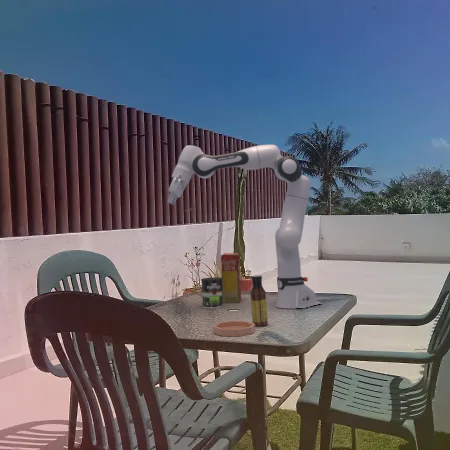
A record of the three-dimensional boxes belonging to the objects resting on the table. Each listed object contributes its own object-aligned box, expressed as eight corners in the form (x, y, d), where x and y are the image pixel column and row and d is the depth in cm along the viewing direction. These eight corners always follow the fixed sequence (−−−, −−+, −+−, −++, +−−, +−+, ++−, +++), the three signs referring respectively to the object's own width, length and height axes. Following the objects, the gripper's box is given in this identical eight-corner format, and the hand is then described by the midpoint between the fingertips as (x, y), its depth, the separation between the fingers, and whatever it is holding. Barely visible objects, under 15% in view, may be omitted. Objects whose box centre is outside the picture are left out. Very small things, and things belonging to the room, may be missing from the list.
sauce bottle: (267, 323, 198) (265, 274, 198) (268, 326, 191) (267, 276, 191) (251, 323, 197) (249, 275, 197) (252, 327, 191) (250, 276, 191)
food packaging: (239, 303, 249) (237, 254, 249) (221, 303, 250) (219, 255, 250) (241, 298, 262) (240, 252, 262) (224, 299, 263) (222, 253, 263)
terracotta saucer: (241, 325, 194) (241, 319, 194) (261, 332, 181) (261, 325, 181) (208, 330, 187) (207, 324, 187) (226, 338, 174) (226, 331, 174)
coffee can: (225, 307, 237) (224, 278, 237) (204, 309, 234) (203, 280, 234) (220, 304, 247) (218, 276, 247) (200, 306, 244) (199, 278, 244)
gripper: (185, 176, 222) (173, 204, 221) (189, 182, 242) (178, 207, 242) (172, 171, 222) (160, 199, 222) (177, 177, 242) (167, 203, 242)
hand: (170, 203), depth 232 cm, fingers open, 8 cm apart
